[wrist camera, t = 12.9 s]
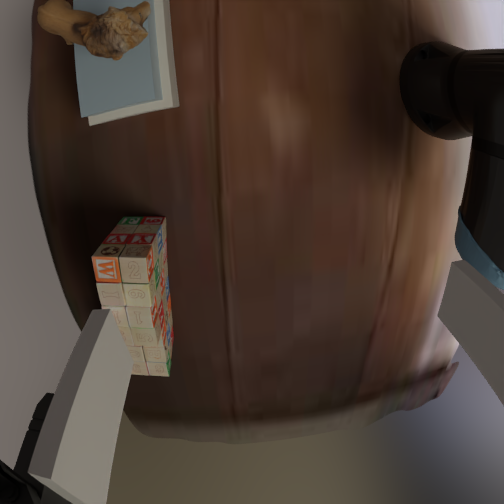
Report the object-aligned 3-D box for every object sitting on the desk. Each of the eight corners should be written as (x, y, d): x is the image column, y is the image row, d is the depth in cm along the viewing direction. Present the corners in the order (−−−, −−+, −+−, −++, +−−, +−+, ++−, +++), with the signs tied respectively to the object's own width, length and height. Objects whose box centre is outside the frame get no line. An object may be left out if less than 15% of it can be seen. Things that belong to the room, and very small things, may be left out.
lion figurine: (173, 24, 22) (154, -6, 14) (150, 72, 24) (121, 60, 16) (54, 3, 19) (9, -16, 11) (35, 47, 21) (-15, 39, 13)
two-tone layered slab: (168, -18, 26) (154, -47, 18) (179, 106, 34) (166, 106, 26) (94, 1, 26) (66, -18, 18) (104, 122, 34) (74, 129, 26)
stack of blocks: (175, 336, 50) (167, 393, 39) (139, 334, 49) (125, 389, 38) (165, 215, 41) (146, 258, 30) (122, 215, 40) (90, 256, 29)
